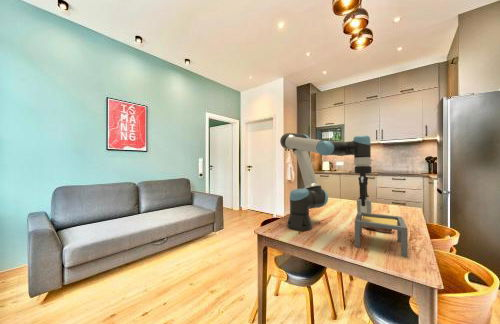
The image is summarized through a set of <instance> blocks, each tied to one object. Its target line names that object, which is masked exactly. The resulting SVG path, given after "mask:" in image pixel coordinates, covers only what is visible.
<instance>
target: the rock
mask: <svg viewBox="0 0 500 324" xmlns="http://www.w3.org/2000/svg"><path fill="white" fill-rule="evenodd" d="M363 217H364V216H362V221H363ZM365 217H368V216H365ZM375 218H376V217H375ZM362 227H363V228H366V229H371V230H373V231H377V232H379V233H391V232H393V230H392V229H385V228H379V227H372V226H363V225H362Z"/></svg>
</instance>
